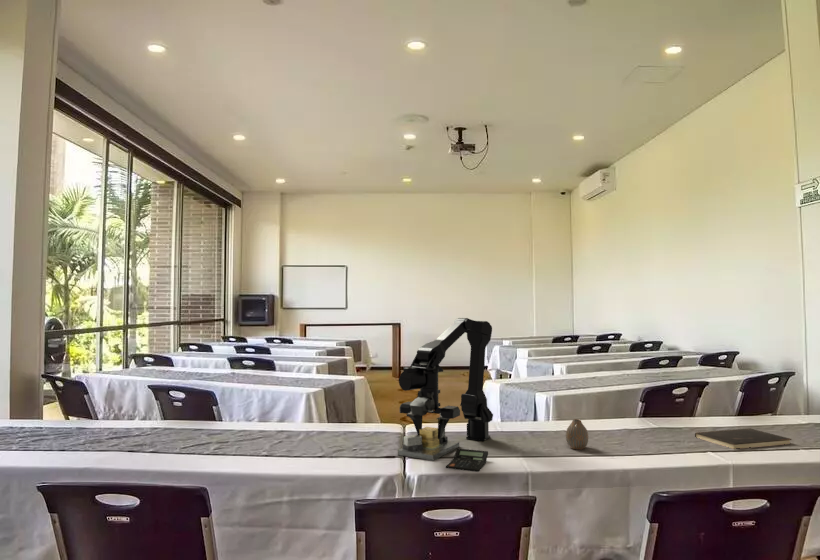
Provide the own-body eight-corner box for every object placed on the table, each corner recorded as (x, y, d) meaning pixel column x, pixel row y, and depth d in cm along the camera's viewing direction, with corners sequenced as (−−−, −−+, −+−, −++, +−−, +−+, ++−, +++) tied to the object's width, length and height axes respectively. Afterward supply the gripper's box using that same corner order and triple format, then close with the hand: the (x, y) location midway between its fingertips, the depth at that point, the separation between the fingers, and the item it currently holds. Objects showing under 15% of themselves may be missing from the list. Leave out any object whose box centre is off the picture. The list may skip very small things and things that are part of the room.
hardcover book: (791, 446, 178) (791, 438, 178) (733, 451, 172) (733, 443, 172) (749, 434, 193) (749, 427, 193) (694, 438, 187) (694, 432, 187)
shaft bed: (459, 446, 176) (459, 430, 176) (433, 460, 160) (433, 442, 160) (426, 442, 182) (426, 426, 182) (397, 455, 166) (397, 437, 166)
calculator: (445, 469, 153) (445, 458, 153) (457, 458, 164) (457, 448, 164) (478, 472, 150) (478, 461, 150) (488, 461, 161) (488, 451, 161)
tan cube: (439, 444, 172) (439, 428, 172) (432, 447, 168) (432, 431, 168) (426, 442, 174) (426, 426, 175) (419, 445, 170) (419, 429, 171)
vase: (577, 451, 169) (576, 423, 170) (561, 446, 175) (560, 419, 176) (593, 449, 173) (593, 420, 173) (577, 444, 179) (577, 416, 179)
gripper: (390, 388, 170) (390, 439, 169) (444, 393, 160) (444, 447, 160) (408, 383, 179) (408, 432, 179) (460, 388, 170) (461, 439, 169)
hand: (429, 437), depth 171 cm, fingers open, 7 cm apart
